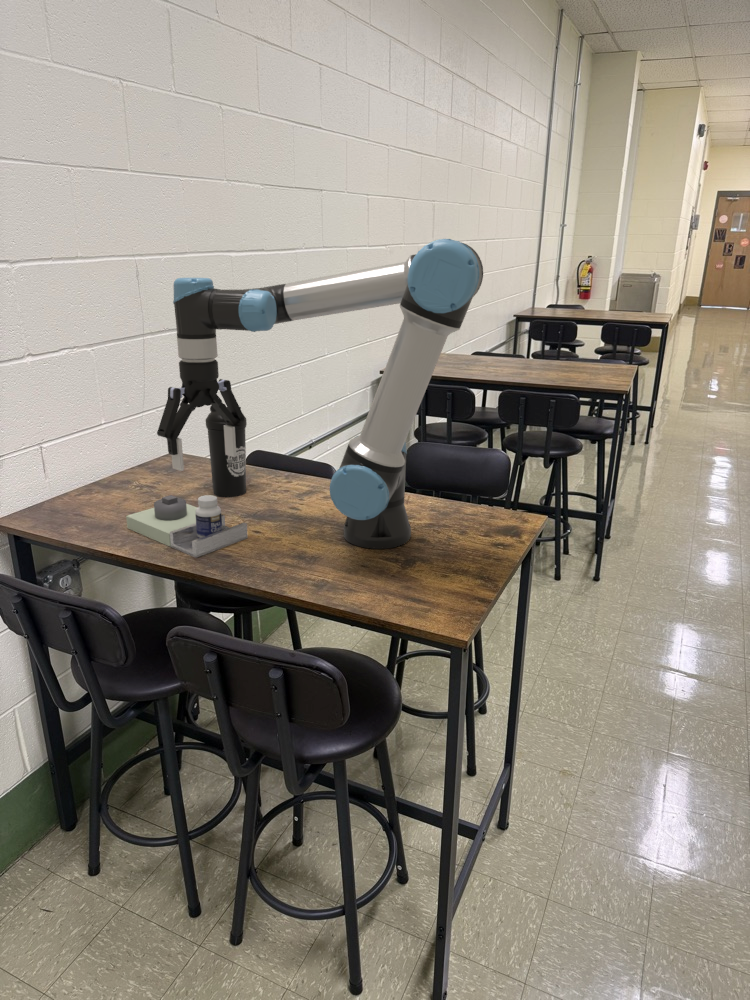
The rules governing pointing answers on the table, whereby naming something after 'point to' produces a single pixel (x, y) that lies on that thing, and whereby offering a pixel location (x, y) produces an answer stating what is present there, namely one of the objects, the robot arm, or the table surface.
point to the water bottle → (226, 458)
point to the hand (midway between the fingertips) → (205, 462)
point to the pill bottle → (208, 516)
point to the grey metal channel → (206, 539)
